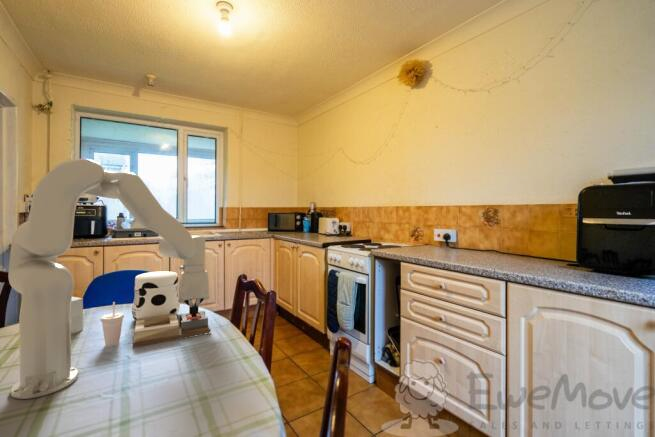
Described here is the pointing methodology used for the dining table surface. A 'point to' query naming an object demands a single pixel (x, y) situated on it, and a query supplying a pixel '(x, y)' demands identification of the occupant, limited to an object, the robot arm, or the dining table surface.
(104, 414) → the dining table surface
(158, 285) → the milk container
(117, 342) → the smoothie
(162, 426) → the dining table surface
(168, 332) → the wooden tray with button
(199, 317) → the button
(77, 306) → the skincare box
